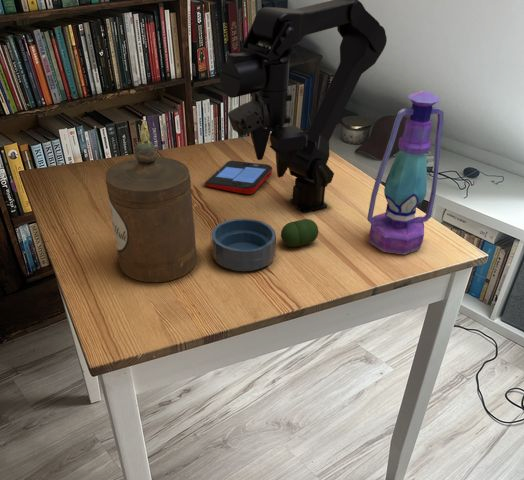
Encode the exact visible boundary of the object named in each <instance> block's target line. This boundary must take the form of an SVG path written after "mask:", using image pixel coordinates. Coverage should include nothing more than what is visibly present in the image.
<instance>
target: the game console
mask: <svg viewBox="0 0 524 480" xmlns="http://www.w3.org/2000/svg"><path fill="white" fill-rule="evenodd" d="M272 174H273V167H272V165H270V164H267V163H259V162H258V163H256V162H248V161H241V160H239V161H238V160H229V161H226V163H225V164H224V165H223V166H221V168H219V169H217V170H216V172H215V173H214V174H212V176H210V177H209V178H208V179H207V180H206V181H205V182H204V185H205V186H206V187H207V188H212V189H216V190H222V191H227V192H232V193H238V194H242V195H252V194H254V193H255V192H257V190H258V189H259V188H260V187H261V186H262V185H263V184H264V183H265V182H266V181H267V180H268V179H269V178H270V177H271V176H272Z"/></svg>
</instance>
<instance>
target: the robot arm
mask: <svg viewBox="0 0 524 480" xmlns="http://www.w3.org/2000/svg"><path fill="white" fill-rule="evenodd" d="M334 28H337V32H338V34H339V35H340V37H341V42H340V46H339V64H338V67H337V69H336V71H335V72H334V75H333V77H332V79H331V81H330V84H329V86H328V88H327V90H326V92H325V94H324V96H323V98H322V100H321V102H320V104H319V107H318V108H317V111H316V113H315V115H314V117H313V119H312V121H311V123H310V125H309V128H308V130H306V131H304V130H303V129H301V128H299V127H298V126H296V125H289V126H285V125H286V124H291V116H290V115H288V114H287V110H288V102H292V100H293V99H292V98H293V95H292V94H291V93H290V92H289V77H290V75H289V74H290V73H289V72H290V61H292V60H297V59H299V53H297V52H296V51H295V50H294V48H293V47H295V46H296V45H298V44H300V43H301V41H302V40H303V38H305V37H306V36H308V35H312V34H316V33H319V32H323V31H326V30H330V29H334ZM387 38H388V37H387V34H386V29H385V28H384V26H382V25H381V24H380V22H379V21H378V20H377V19H376V18H375V17H374V16H373V15H372V14H371V13H370V12H369V11H367V9H366V8H365V6H364V4H363V3H362V2H361V1H360V0H328V1H323V2H319V3H314V4H312V5H307V6H302V7H298V8H286V7H285V8H284V7H273V6H272V7H270V6H265V7H264V6H263V7H261V8H260V9H258V10H257V12H256V15H255V16H254V19H253V21H252V24H251V26H250V29H249V30H248V32H247V35H246V36H245V37H244V40H243V43H242V44H241V46H240V52H239V53H233V52H231V53H227V55H226V61H225V62H224V63H223V65H222V66H221V69H220V72H219V82H220V86H221V89H222V91H223V92H224V94H225V96H227V97H228V98H230V99H235V98H238V97H242V96H247V95H251V100H250V101H248V102H245V103H243V104H240V105H239V106H237V107H235V108H233V109H231V110H230V111H228V113H227V117H228V119H229V123H230V125H231V128H232V130H233V131H235V132H236V133H237V134H238V135H239V136H245V135H248V134H249V135H250V138H251V142H252V145H253V149H254V152H255V157H256V159H257V161H261V160H264V159H263V158H264V156H265V154H266V149H267V146H268V143H269V142H270V144H269V148H270V149H271V150H272V151H273V152H274V153H275V165H276V166H275V167H276V176H277V177H278V178H283V177H284V176H285V175H286V172H287V170H289V175H290V176H292V177H294V185H293V186H292V194H291V195H292V196H291V198H290V199H289V201H290V203H292V204H293V205H294V206H295V207H296V208H297V209H298V210H300V212H302V213H308V212H314V211H318V210H323V209H327V208H328V204H327V203H326V202H325V192H326V187H328V185H329V184H331V183H332V181H333V179H334V176H335V173H334V171H333V170H332V169H331V168H330V166H328V161H329V159H330V140H331V138H332V136H333V134H334V131H335V130H336V127H337V125H338V124H339V122H340V119H341V117H342V116H343V113H344V111H345V109H346V107H347V105H348V103H349V100H350V99H351V96H352V94H353V93H354V91H355V89H356V86H357V84H358V82H359V80H360V78H361V76H362V74H364V73H365V72H366V71H367V70H369V69H370V68H372V67H373V66H374V65H375V64H376V63H377V61H378V60H379V58H380V56H381V55H382V53H383V52H384V50H385V47H386V45H387V41H388V40H387ZM260 44H261V45H260ZM263 45H264V46H263ZM266 46H267V47H266Z"/></svg>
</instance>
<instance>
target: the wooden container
mask: <svg viewBox="0 0 524 480" xmlns="http://www.w3.org/2000/svg"><path fill="white" fill-rule="evenodd" d="M191 182H192V180H191V174H190V169H189V168H188V166H187V165H186V164H185V163H184V162H182V161H179V160H176V159H173V158H170V157H164V156H157V153H156V154H155V153H154V152H153V151H151V150H150V149H142V150H140V151H139V152H138V153H137V155H136V158H135V157H131V158H127V159H124V160H120V161H118V162H116V163H114V164H113V165H111V166H110V167H109V168H108V169H106V171H105V185H106V190H107V191H106V192H107V194H108V201H109V207H110V208H109V209H110V214H111V222H112V229H113V235H114V241H115V246H116V252H117V257H118V262H119V266H120V269H121V271H122V272H123V273H124V274H125V275H126V276H128V277H129V278H131V279H133V280H136V281H140V282H146V283H163V282H169V281H173V280H176V279H180V278H181V277H184V276H185V275H187V274H188V273H190V272H191V271H192V270H193V269H194V268H195V266H196V263H197V259H198V258H197V246H196V245H197V244H196V230H195V219H194V210H193V209H194V208H193V199H192V189H191V188H192V185H191V184H192V183H191Z"/></svg>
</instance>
